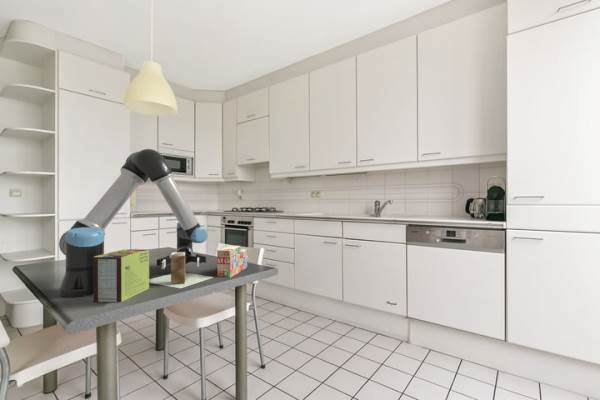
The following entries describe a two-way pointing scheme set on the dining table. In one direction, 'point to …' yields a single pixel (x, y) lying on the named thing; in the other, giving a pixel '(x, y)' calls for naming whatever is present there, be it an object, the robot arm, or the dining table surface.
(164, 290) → the dining table surface
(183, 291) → the dining table surface
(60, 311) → the dining table surface
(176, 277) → the walnut block
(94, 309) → the dining table surface
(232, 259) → the multicolored rectangular box
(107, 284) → the protein box
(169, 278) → the sage board
